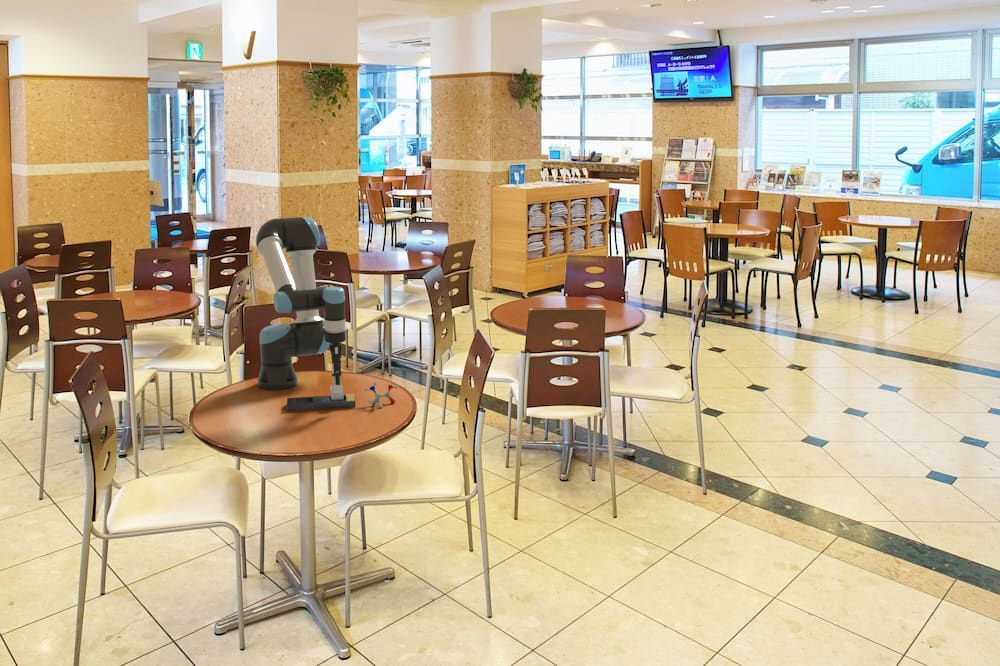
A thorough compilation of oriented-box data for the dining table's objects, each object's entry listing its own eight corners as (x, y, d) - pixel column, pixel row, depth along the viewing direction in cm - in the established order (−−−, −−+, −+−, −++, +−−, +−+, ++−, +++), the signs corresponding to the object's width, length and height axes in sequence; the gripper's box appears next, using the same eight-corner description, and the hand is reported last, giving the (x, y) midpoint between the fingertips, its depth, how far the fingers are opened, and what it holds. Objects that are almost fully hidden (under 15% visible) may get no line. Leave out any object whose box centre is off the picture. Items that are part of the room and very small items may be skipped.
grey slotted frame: (287, 404, 321) (287, 397, 320) (354, 400, 326) (353, 393, 325) (287, 411, 313) (287, 404, 313) (355, 407, 318) (355, 400, 318)
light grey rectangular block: (331, 403, 322) (330, 385, 321) (343, 402, 323) (342, 384, 322) (331, 407, 318) (330, 389, 316) (343, 406, 319) (343, 388, 317)
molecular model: (390, 401, 313) (380, 376, 315) (368, 412, 316) (358, 387, 318) (404, 401, 324) (394, 376, 326) (383, 412, 327) (374, 387, 329)
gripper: (323, 322, 325) (325, 377, 330) (325, 339, 301) (327, 398, 307) (343, 321, 327) (345, 376, 332) (347, 338, 303) (349, 397, 308)
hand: (337, 386), depth 319 cm, fingers open, 13 cm apart
